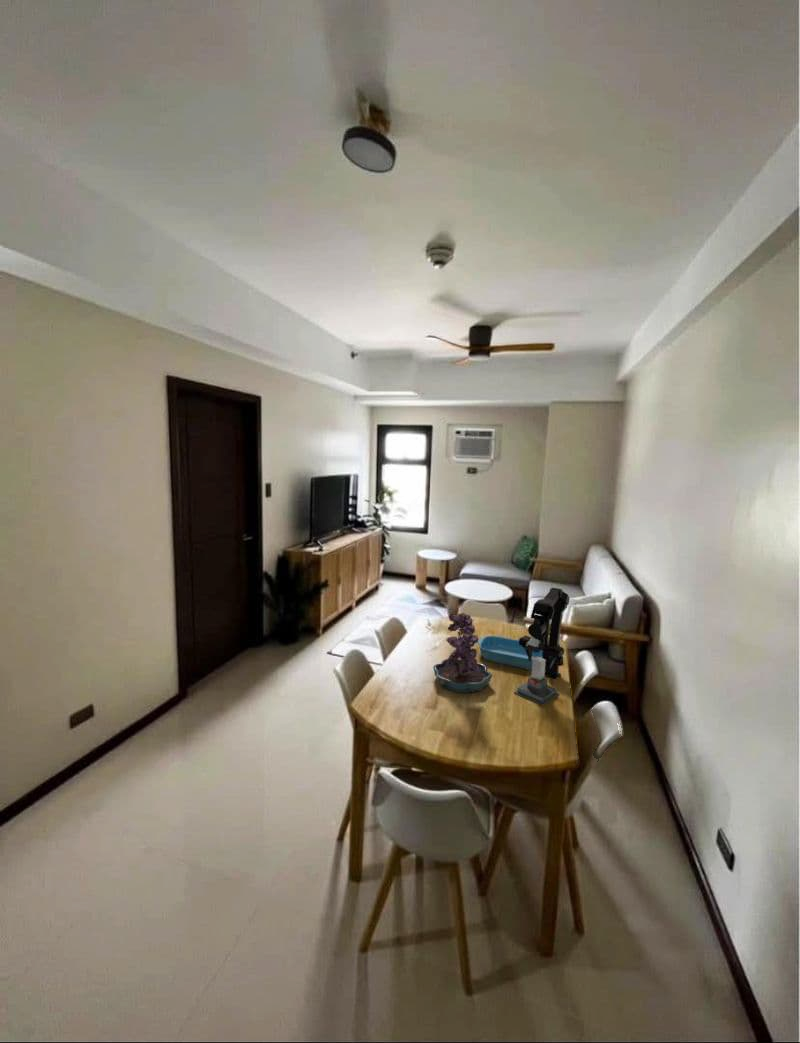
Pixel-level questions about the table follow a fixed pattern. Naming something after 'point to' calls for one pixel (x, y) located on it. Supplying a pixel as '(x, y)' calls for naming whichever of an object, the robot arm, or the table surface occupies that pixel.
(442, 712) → the table surface
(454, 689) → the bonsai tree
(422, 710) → the table surface
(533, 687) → the jack stand base
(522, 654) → the casserole dish
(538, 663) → the column
